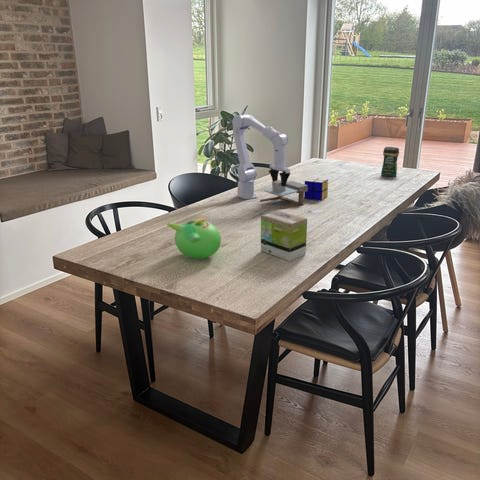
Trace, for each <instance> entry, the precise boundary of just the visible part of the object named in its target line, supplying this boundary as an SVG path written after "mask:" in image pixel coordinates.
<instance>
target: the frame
mask: <svg viewBox="0 0 480 480" xmlns="http://www.w3.org/2000/svg"><path fill="white" fill-rule="evenodd" d="M277 199H280V200H282V201H286V202H289V203H292V204H289V205H284V206H283V205H282V206H279V209H280V210H283V209H288V208H293V207H298V206H299V207H300V206H304V203H305V202H304V190H299V193H298V201H296V200H294V199H290V198H288V197H285V196H282V197H280V196H273V197H267V198H262V199H259V201H260V202H266V201H272V200H277Z"/></svg>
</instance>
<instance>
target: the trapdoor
mask: <svg viewBox="0 0 480 480" xmlns="http://www.w3.org/2000/svg"><path fill="white" fill-rule="evenodd" d="M299 190H304V192H306V191H308V185H305V183H301V182H298V181H295V180H289V181H287V183H286V186H285V191H283V192H280V193H277V192H274V191H272V187H271V188H267V189H264V190H263V192H266V193H269V194H271V195H275V196H276V197H278V196H280V197H282V196H283V197H285V196H289V195H291V194H295V193H296V194H299Z"/></svg>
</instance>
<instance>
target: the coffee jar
mask: <svg viewBox="0 0 480 480" xmlns="http://www.w3.org/2000/svg"><path fill="white" fill-rule="evenodd" d="M382 155H383V161H382V168H381V171H380V172H381V173H380V175H381V176H383V177H391V178H394V177H397V175H398V158H399V155H400V148H399V147H396V146H395V147H394V146H385V147H384V149H383V152H382Z"/></svg>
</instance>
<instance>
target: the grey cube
mask: <svg viewBox="0 0 480 480" xmlns="http://www.w3.org/2000/svg"><path fill="white" fill-rule="evenodd" d="M271 185H272V187H271V188H272V191H274V192H277V193H280V192H283V191H285V186H282V185H281V179H278V180H277V181H271Z"/></svg>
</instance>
